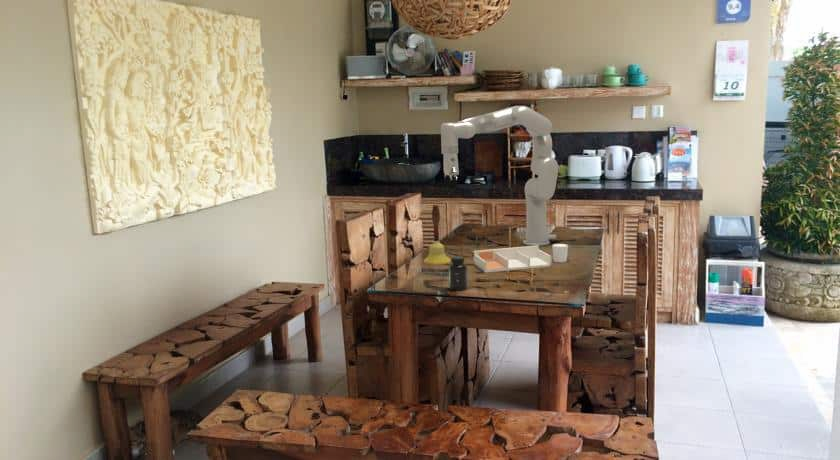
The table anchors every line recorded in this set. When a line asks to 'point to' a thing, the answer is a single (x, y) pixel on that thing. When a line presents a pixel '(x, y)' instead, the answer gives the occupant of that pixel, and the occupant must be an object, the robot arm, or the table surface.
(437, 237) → the handbell
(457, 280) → the supplement bottle
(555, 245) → the white and grey cylinder
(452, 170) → the robot arm
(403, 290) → the table surface
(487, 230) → the table surface
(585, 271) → the table surface
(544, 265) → the rack
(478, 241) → the table surface
